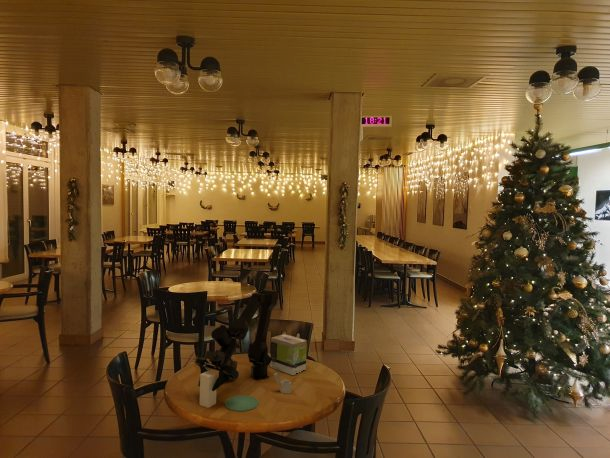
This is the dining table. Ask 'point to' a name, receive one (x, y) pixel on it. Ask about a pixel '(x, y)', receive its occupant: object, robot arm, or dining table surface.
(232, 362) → the dark grey rounded piece
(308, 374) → the dining table surface
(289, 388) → the lighter
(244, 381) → the dining table surface
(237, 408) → the green mat
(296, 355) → the tea box
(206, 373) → the cream block
